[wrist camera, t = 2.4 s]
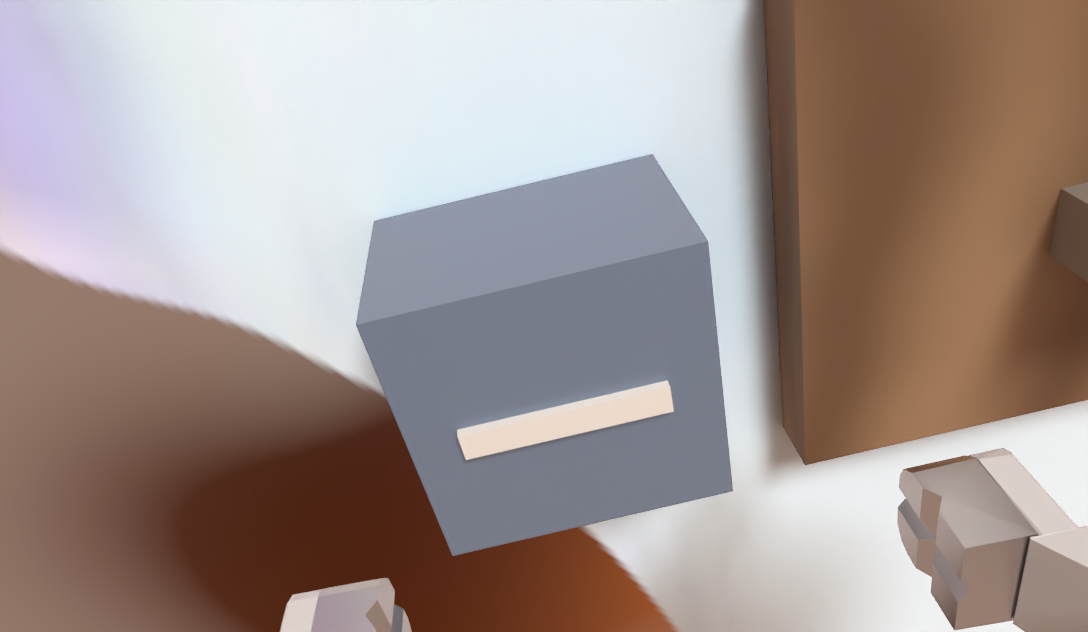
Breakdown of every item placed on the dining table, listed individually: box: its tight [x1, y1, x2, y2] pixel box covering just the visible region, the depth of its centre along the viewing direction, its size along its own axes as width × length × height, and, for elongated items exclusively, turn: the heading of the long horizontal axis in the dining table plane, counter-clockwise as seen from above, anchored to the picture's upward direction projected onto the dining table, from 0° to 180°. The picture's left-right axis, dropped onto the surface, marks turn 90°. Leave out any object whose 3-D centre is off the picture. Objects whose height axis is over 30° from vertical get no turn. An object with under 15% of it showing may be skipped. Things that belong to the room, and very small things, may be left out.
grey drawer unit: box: [356, 154, 733, 556], centre depth 16 cm, size 6×6×4 cm
